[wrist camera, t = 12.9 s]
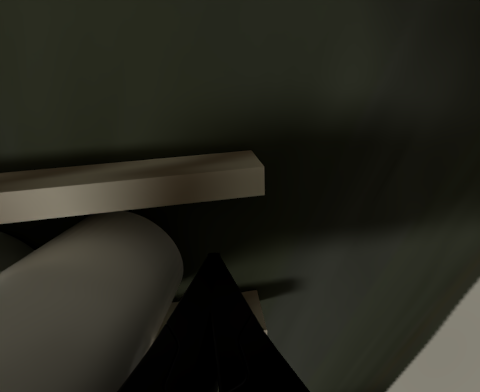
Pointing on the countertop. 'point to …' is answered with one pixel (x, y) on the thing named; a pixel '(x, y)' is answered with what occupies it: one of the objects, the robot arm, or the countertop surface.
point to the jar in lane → (12, 250)
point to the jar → (86, 305)
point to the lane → (133, 190)
